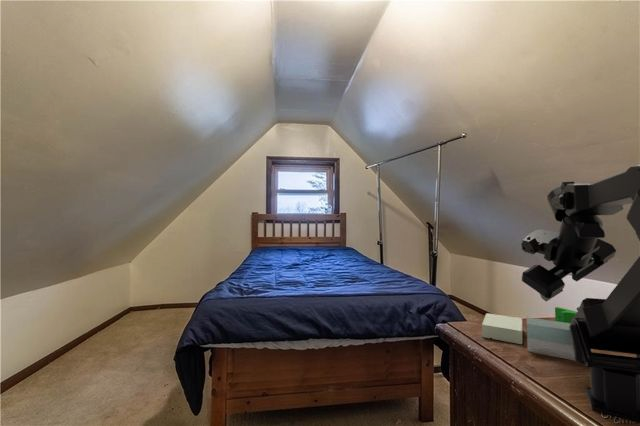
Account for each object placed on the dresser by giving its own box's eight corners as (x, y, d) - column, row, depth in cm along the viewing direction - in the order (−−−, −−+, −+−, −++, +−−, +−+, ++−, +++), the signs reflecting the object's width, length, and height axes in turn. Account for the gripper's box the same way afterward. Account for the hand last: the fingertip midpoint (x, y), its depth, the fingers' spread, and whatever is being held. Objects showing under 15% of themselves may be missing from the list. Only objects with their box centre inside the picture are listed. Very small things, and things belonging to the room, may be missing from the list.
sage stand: (522, 344, 68) (521, 331, 68) (482, 337, 73) (481, 324, 73) (522, 330, 77) (522, 318, 77) (486, 324, 81) (486, 313, 81)
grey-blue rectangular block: (576, 361, 60) (575, 331, 60) (527, 351, 65) (526, 323, 65) (572, 351, 64) (571, 323, 65) (527, 343, 69) (526, 317, 69)
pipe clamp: (548, 325, 80) (547, 308, 80) (558, 323, 81) (557, 306, 81) (599, 341, 69) (598, 321, 70) (609, 339, 71) (608, 319, 71)
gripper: (567, 200, 66) (554, 250, 75) (502, 238, 63) (496, 285, 72) (628, 225, 58) (605, 278, 67) (556, 271, 54) (542, 320, 63)
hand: (559, 289), depth 67 cm, fingers open, 9 cm apart
